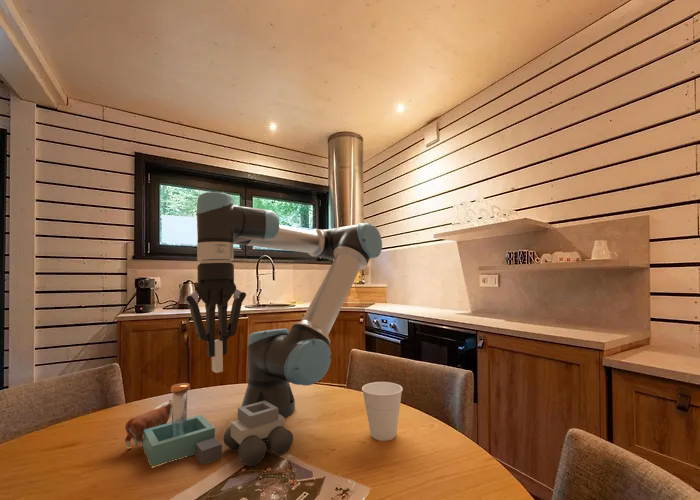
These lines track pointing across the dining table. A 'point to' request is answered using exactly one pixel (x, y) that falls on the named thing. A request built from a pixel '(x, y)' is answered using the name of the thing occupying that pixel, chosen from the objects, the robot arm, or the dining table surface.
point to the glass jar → (179, 409)
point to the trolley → (258, 432)
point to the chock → (208, 451)
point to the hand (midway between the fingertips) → (217, 370)
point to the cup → (382, 408)
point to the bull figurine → (147, 422)
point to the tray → (175, 440)
